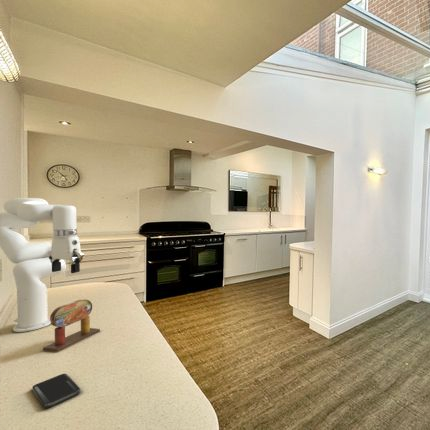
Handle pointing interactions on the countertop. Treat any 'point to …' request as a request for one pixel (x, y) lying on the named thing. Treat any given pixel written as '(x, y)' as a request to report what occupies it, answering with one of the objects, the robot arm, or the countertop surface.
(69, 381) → the phone
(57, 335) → the rod stand
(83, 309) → the tin
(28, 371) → the countertop surface
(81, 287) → the countertop surface
